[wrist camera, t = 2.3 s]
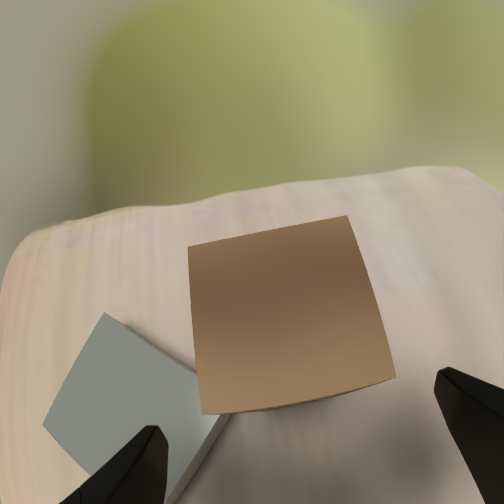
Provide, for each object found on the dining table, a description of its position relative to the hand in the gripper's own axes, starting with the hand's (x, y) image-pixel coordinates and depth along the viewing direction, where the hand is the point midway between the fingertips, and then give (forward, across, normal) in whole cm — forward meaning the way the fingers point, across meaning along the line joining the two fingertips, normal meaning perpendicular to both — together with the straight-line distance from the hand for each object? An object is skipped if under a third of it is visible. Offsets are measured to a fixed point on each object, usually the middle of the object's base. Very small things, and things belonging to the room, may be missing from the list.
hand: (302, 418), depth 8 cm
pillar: (+9, 0, +5) cm, 10 cm away
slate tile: (+7, +10, +7) cm, 14 cm away
